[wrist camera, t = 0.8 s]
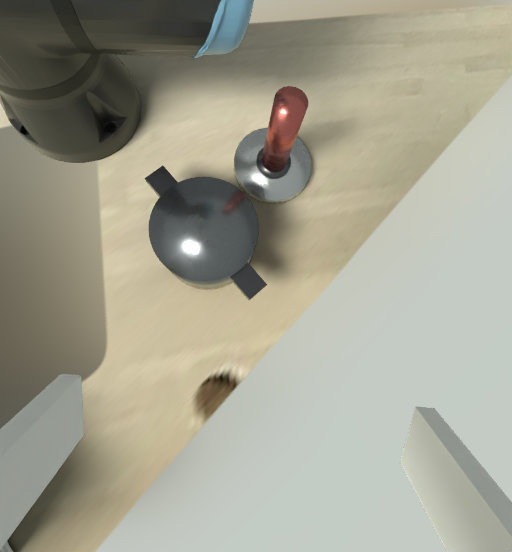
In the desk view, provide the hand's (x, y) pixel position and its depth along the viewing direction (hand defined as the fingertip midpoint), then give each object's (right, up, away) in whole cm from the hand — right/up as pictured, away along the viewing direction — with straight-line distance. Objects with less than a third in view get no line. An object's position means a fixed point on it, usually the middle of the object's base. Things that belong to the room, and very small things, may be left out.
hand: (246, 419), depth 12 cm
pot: (-6, +10, +26) cm, 28 cm away
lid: (+2, +20, +28) cm, 35 cm away
